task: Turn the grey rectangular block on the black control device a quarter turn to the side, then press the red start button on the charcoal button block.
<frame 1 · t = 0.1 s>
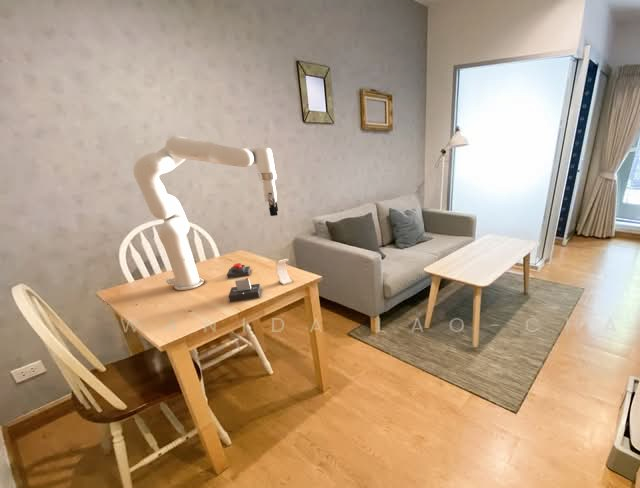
hand: (274, 213, 159), 31 cm above the table, tool pointing down, fingers open, 9 cm apart
button block: (239, 274, 172), on the table
device: (246, 295, 149), on the table
grey rectangular block: (243, 284, 147), point 6 cm above the table, hinge at 0.0°
start button: (237, 266, 170), point 4 cm above the table, slide at 0.1 cm
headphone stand: (285, 281, 162), on the table
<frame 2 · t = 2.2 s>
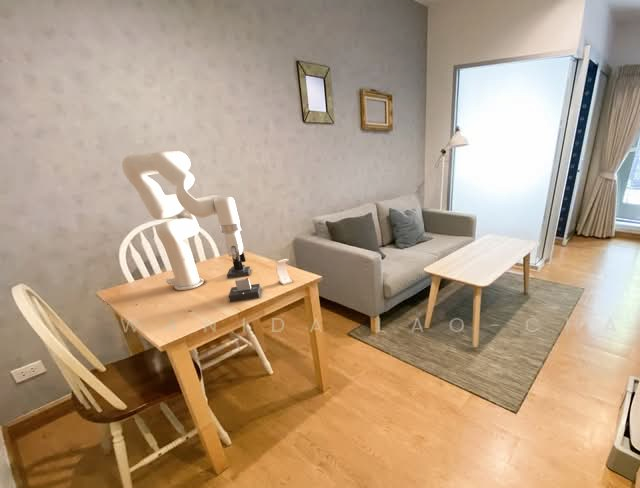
hand: (240, 265, 144), 14 cm above the table, tool pointing down, fingers open, 9 cm apart
nothing on the table moved.
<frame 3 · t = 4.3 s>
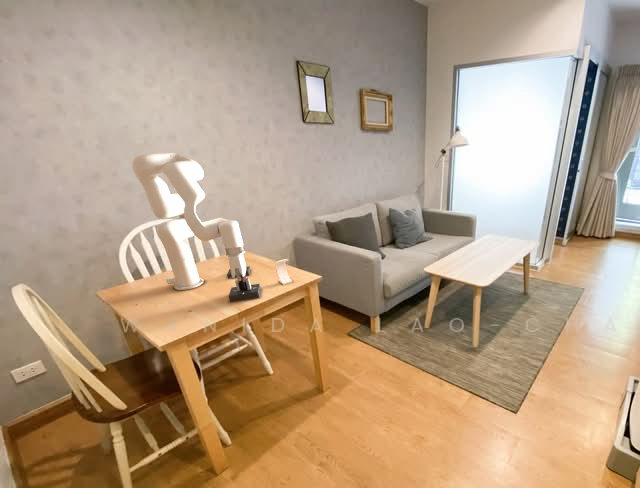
hand: (244, 288, 148), 4 cm above the table, tool pointing down, fingers closed on grey rectangular block, 2 cm apart
grey rectangular block: (243, 284, 147), point 6 cm above the table, hinge at 0.0°, touching gripper
everything else where it was.
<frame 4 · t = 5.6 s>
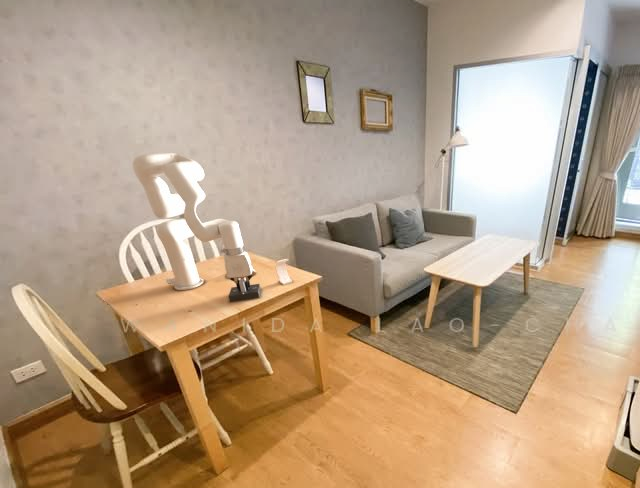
hand: (244, 289, 148), 3 cm above the table, tool pointing down, fingers closed
grey rectangular block: (243, 284, 147), point 6 cm above the table, hinge at 89.2°
everything else where it was.
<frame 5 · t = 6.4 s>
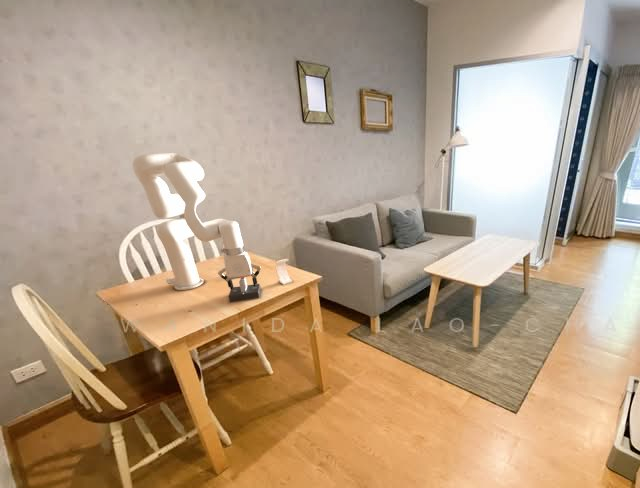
hand: (243, 286, 147), 4 cm above the table, tool pointing down, fingers open, 9 cm apart
nothing on the table moved.
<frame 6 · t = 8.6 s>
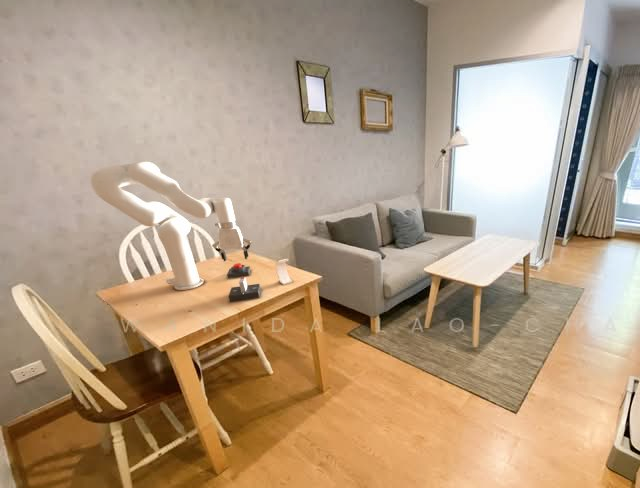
hand: (235, 259, 161), 11 cm above the table, tool pointing down, fingers open, 9 cm apart
nothing on the table moved.
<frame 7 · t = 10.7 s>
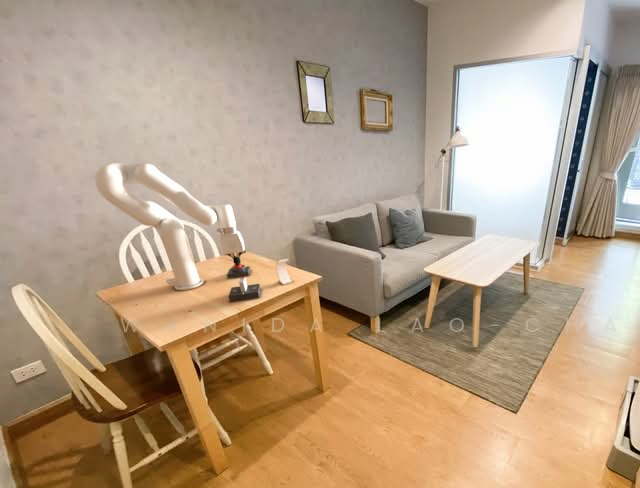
hand: (237, 264, 170), 5 cm above the table, tool pointing down, fingers closed
start button: (237, 266, 170), point 4 cm above the table, slide at 0.1 cm, touching gripper
everything else where it was.
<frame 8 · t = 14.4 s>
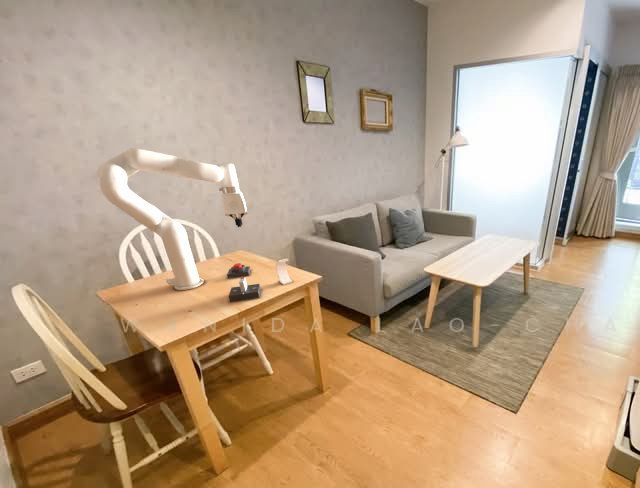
hand: (239, 226, 170), 23 cm above the table, tool pointing down, fingers closed
start button: (237, 266, 170), point 4 cm above the table, slide at 0.1 cm
everything else where it was.
at the end: grey rectangular block at +89° (first picture: +0°); start button pushed in 1.0 cm at the most during the clip, back to where it started at the end; start button slide at 0.1 cm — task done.
